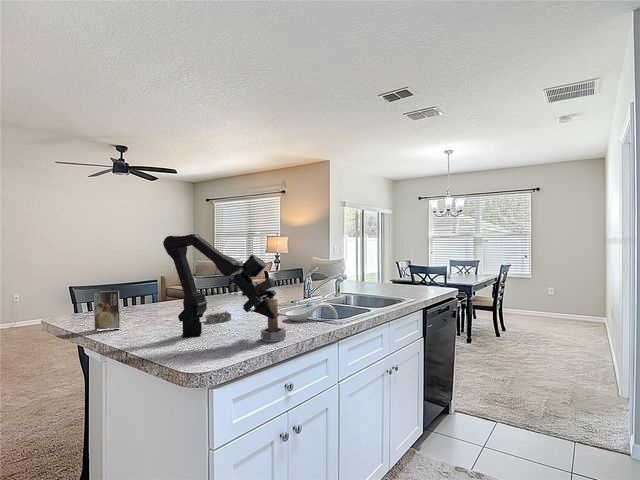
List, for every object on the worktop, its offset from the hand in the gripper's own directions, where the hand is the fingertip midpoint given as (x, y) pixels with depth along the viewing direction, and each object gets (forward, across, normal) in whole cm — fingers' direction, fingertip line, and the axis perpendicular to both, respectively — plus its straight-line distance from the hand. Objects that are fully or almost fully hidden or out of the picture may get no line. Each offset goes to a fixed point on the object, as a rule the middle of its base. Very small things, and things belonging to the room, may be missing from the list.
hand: (276, 317), depth 137 cm
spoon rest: (+8, +36, +4) cm, 38 cm away
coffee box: (-48, +3, +60) cm, 76 cm away
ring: (+5, 0, +6) cm, 8 cm away
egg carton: (-21, +27, +33) cm, 47 cm away
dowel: (+4, 0, +6) cm, 7 cm away
